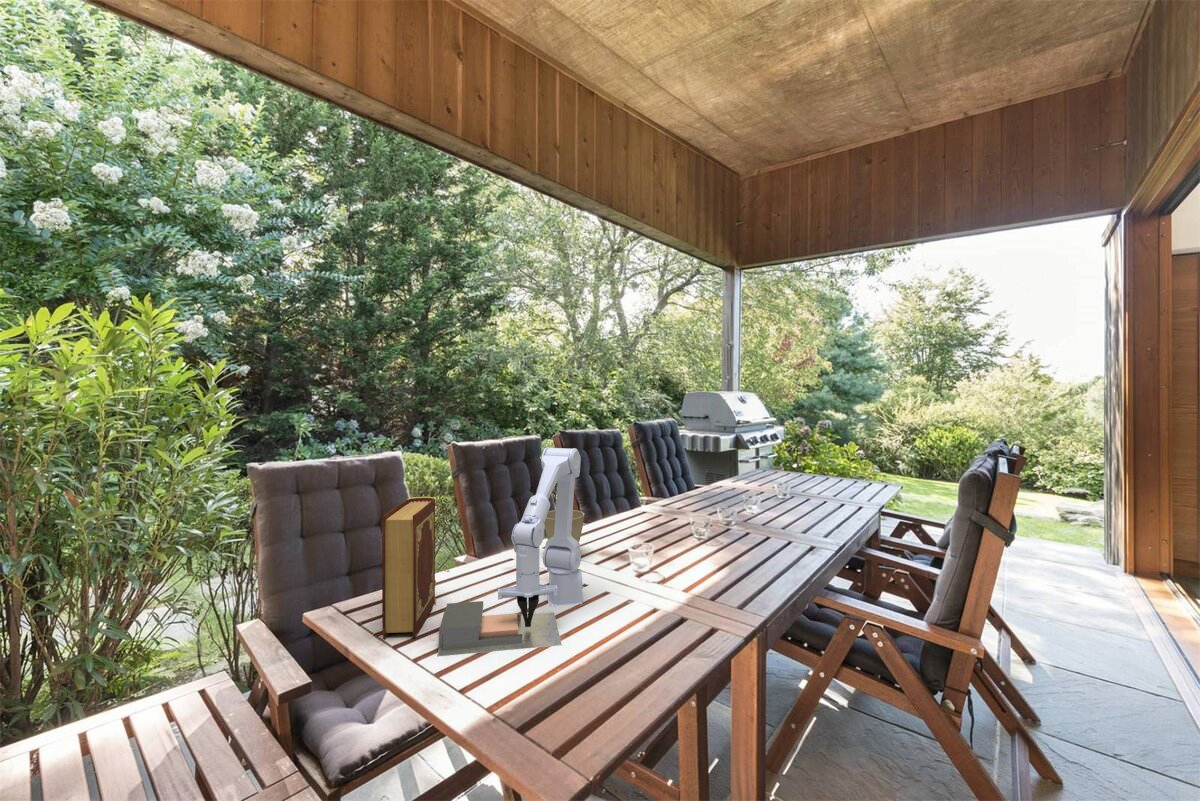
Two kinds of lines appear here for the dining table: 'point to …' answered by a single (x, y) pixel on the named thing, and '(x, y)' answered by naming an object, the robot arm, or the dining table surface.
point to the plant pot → (576, 524)
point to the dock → (464, 636)
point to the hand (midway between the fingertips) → (527, 625)
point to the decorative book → (408, 565)
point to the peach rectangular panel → (499, 625)
